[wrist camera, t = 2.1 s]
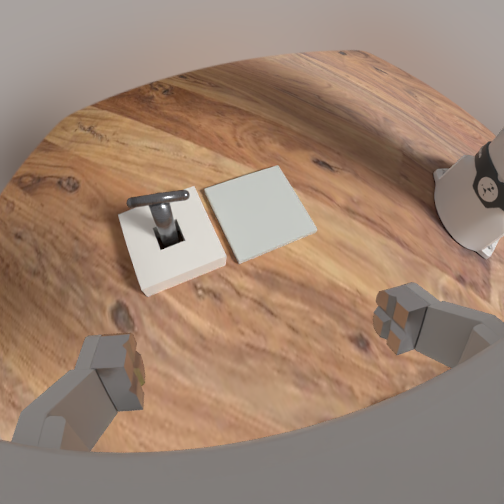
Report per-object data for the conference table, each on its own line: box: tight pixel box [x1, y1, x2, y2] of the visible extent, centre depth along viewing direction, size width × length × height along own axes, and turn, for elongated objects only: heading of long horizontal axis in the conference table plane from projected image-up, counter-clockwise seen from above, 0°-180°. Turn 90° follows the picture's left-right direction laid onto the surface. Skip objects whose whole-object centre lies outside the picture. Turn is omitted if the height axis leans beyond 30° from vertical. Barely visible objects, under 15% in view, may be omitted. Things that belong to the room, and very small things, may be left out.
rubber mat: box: [204, 165, 317, 264], centre depth 39 cm, size 11×11×1 cm
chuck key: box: [127, 190, 190, 248], centre depth 31 cm, size 6×2×11 cm, turn 101°
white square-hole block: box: [118, 186, 226, 297], centre depth 35 cm, size 10×10×3 cm
